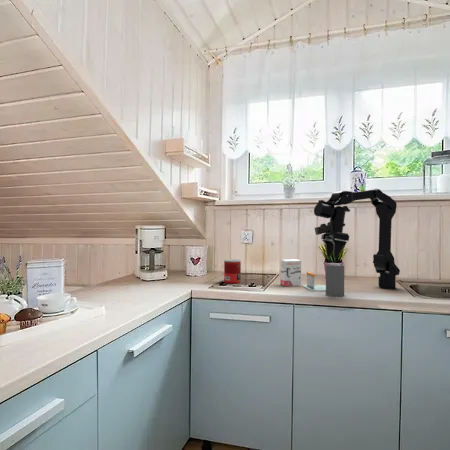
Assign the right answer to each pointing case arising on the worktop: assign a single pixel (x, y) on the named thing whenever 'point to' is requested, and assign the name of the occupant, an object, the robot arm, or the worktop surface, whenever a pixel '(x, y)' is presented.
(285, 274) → the ink box
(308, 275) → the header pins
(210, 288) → the worktop surface
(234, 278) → the canned food
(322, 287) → the mat
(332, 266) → the gray rectangular block
